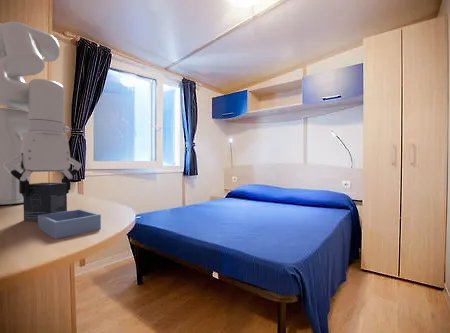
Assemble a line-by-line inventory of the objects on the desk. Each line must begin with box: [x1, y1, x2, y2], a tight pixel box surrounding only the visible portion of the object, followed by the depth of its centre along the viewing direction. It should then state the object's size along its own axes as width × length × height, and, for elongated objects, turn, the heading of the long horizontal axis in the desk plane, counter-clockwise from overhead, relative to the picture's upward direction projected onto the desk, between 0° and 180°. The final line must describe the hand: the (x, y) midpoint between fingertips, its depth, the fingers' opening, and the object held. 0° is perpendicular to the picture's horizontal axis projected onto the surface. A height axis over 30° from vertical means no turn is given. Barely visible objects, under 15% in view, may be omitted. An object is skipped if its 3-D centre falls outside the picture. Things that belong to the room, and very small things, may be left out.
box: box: [22, 182, 68, 223], centre depth 62 cm, size 8×6×11 cm
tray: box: [37, 208, 102, 240], centre depth 55 cm, size 11×9×4 cm
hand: (46, 194), depth 62 cm, fingers open, 8 cm apart
